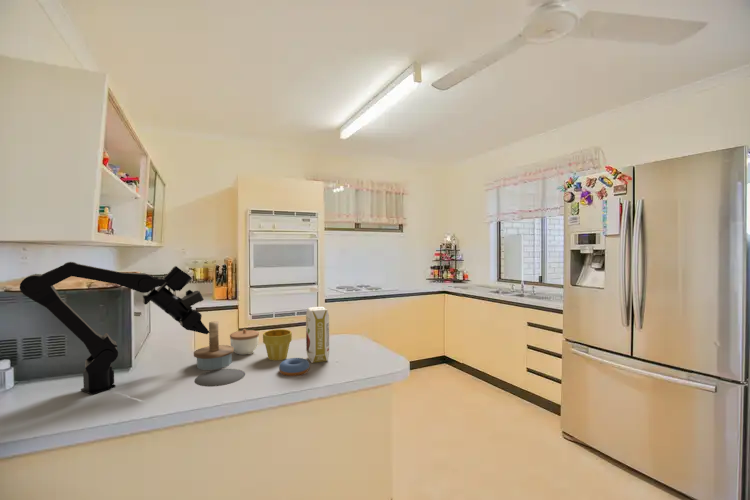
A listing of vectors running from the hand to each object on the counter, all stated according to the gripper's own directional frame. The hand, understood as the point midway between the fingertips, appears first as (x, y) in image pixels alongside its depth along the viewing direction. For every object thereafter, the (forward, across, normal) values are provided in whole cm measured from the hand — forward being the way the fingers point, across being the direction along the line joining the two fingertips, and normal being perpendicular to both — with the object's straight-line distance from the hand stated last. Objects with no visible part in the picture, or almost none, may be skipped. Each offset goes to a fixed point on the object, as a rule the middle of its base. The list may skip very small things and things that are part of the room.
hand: (204, 330), depth 128 cm
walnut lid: (+8, 0, +4) cm, 9 cm away
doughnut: (+25, -24, -6) cm, 35 cm away
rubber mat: (+10, -14, +8) cm, 19 cm away
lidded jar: (+21, +7, -2) cm, 22 cm away
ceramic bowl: (+11, 0, +7) cm, 13 cm away
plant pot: (+26, -7, -8) cm, 28 cm away
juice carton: (+34, -17, -16) cm, 41 cm away
